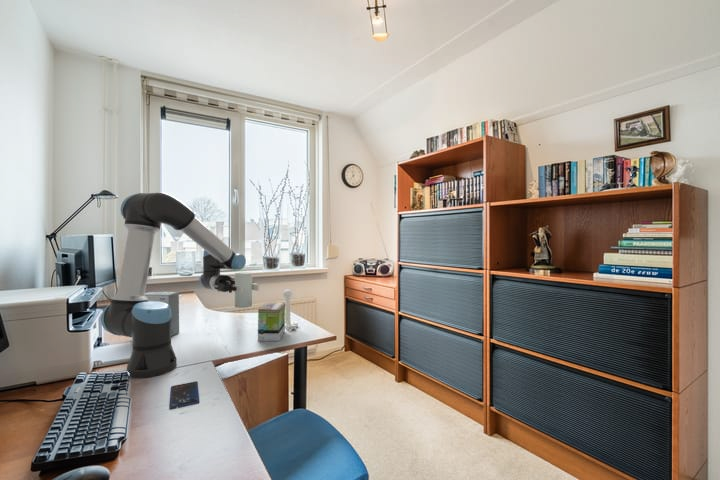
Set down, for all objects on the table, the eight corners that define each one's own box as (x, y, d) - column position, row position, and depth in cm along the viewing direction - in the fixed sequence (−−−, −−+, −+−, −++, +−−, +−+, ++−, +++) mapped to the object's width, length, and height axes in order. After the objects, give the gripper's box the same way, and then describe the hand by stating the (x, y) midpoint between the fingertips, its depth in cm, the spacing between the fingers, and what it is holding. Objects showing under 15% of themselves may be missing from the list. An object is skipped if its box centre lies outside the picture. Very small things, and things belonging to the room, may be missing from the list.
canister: (240, 308, 135) (240, 274, 135) (231, 306, 139) (231, 273, 139) (255, 305, 141) (255, 273, 140) (246, 303, 145) (246, 272, 145)
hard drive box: (180, 332, 158) (179, 292, 158) (169, 338, 151) (169, 295, 150) (150, 331, 160) (150, 291, 160) (138, 336, 152) (138, 294, 152)
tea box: (279, 341, 148) (279, 308, 147) (257, 341, 147) (257, 309, 147) (285, 331, 163) (285, 301, 162) (264, 331, 162) (264, 301, 162)
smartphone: (197, 380, 107) (199, 401, 94) (197, 383, 107) (199, 404, 94) (170, 385, 103) (168, 408, 90) (170, 388, 103) (168, 411, 90)
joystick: (279, 325, 172) (279, 288, 172) (293, 323, 176) (293, 286, 176) (287, 331, 163) (287, 291, 162) (301, 328, 167) (301, 290, 166)
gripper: (241, 288, 159) (269, 294, 145) (200, 293, 143) (227, 300, 129) (241, 273, 159) (270, 277, 145) (200, 276, 143) (227, 281, 129)
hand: (250, 288), depth 137 cm, fingers closed on canister, 7 cm apart
